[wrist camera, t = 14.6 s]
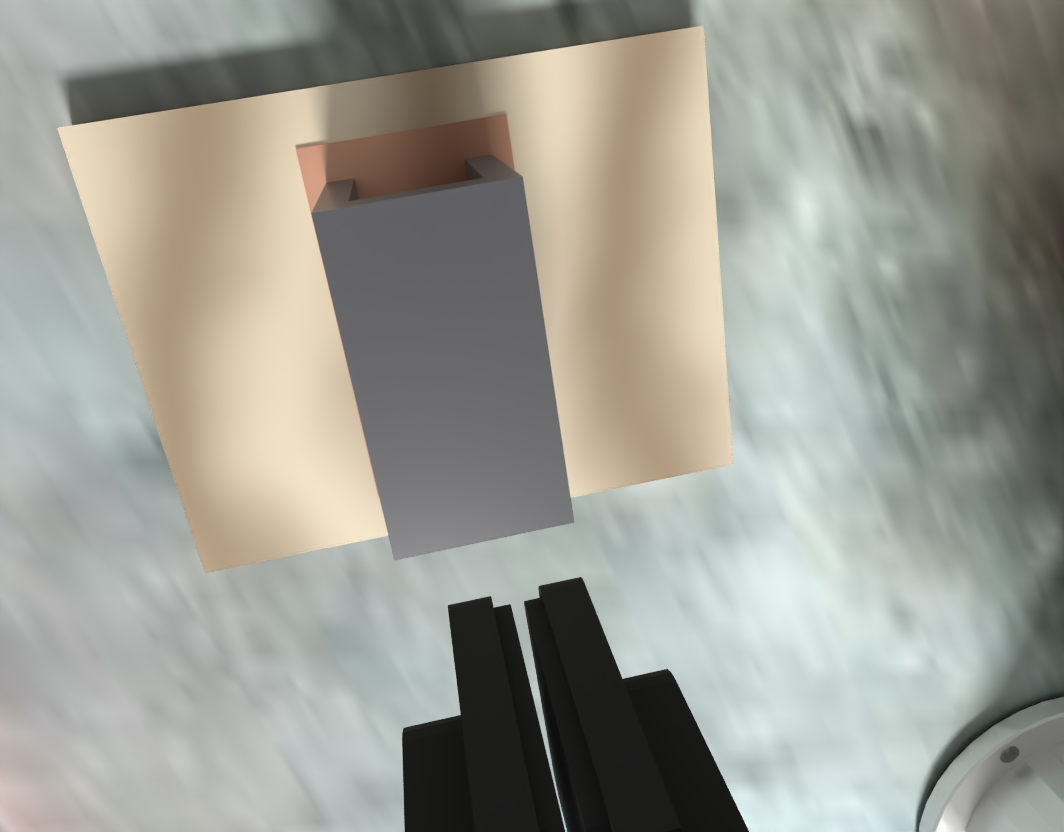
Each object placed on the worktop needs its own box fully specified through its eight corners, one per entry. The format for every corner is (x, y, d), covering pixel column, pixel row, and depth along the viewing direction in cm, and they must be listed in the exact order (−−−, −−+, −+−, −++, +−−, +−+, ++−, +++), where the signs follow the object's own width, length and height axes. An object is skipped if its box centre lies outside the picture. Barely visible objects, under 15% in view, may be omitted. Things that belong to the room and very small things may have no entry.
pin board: (690, 27, 27) (737, 20, 23) (720, 450, 32) (763, 497, 28) (71, 125, 25) (21, 134, 21) (211, 554, 30) (189, 618, 27)
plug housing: (492, 154, 26) (522, 176, 20) (537, 437, 29) (573, 522, 24) (326, 182, 25) (310, 213, 20) (391, 466, 29) (394, 560, 23)
